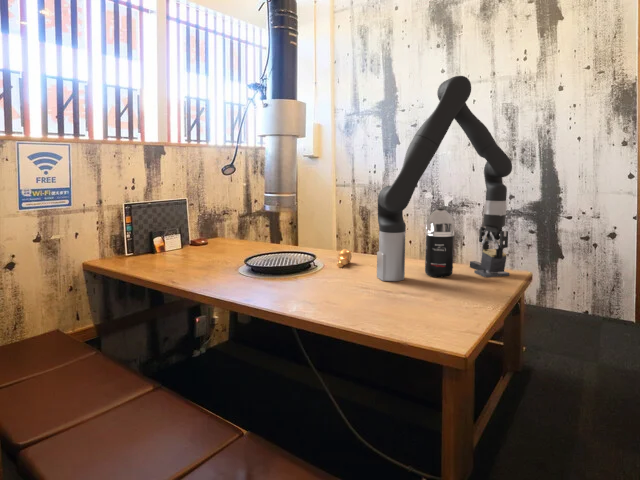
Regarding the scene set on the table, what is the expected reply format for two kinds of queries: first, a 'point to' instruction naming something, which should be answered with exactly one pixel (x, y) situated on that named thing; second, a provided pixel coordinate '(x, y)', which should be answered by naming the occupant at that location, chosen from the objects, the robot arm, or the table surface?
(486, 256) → the khaki matte cube
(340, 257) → the figurine
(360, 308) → the table surface
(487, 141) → the robot arm
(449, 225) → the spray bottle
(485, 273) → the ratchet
